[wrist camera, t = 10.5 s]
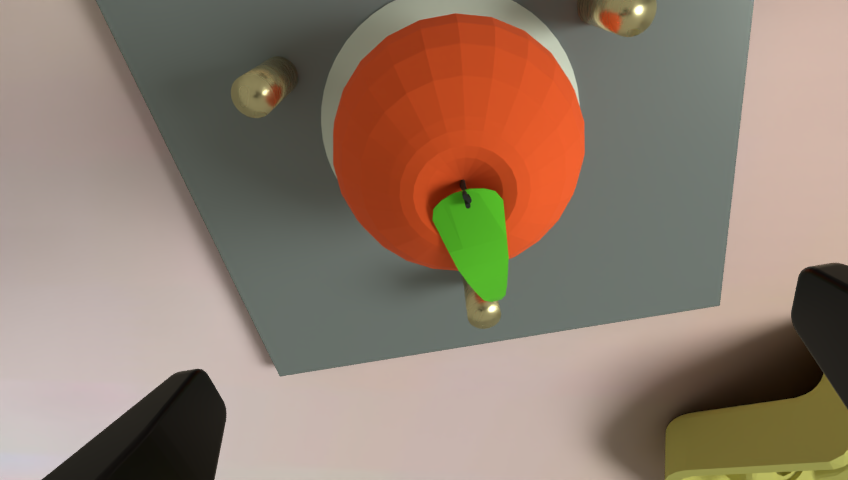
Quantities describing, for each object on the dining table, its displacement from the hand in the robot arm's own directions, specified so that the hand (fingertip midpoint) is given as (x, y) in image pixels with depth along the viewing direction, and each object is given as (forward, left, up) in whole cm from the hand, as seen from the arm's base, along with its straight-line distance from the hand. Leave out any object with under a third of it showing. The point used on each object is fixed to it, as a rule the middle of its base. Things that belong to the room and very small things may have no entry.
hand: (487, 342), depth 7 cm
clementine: (0, 0, -11) cm, 11 cm away
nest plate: (0, 0, -12) cm, 12 cm away
